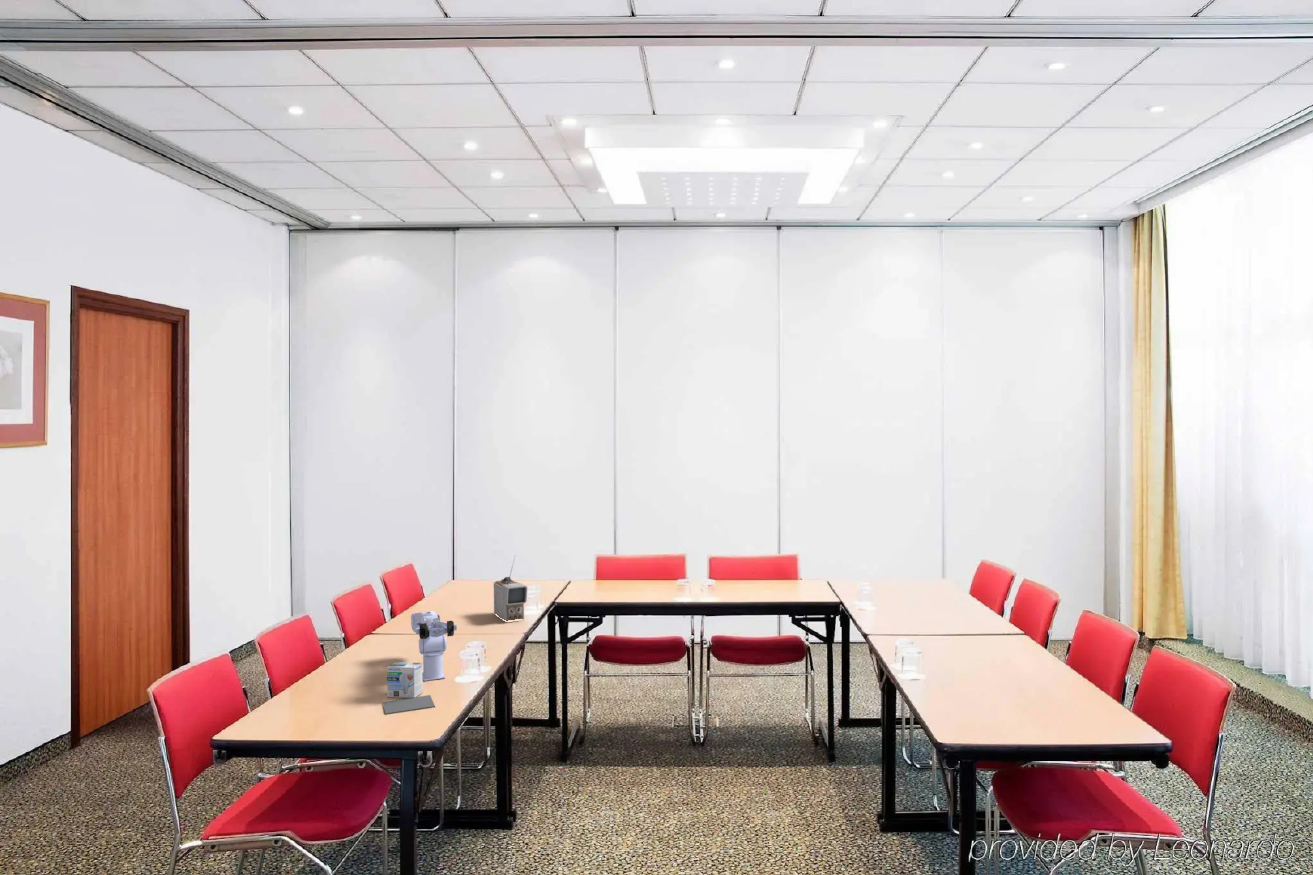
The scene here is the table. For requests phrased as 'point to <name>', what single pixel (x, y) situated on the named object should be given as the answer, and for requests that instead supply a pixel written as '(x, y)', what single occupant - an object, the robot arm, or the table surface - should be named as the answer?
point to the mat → (408, 704)
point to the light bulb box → (404, 680)
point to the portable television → (509, 598)
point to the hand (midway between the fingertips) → (439, 632)
